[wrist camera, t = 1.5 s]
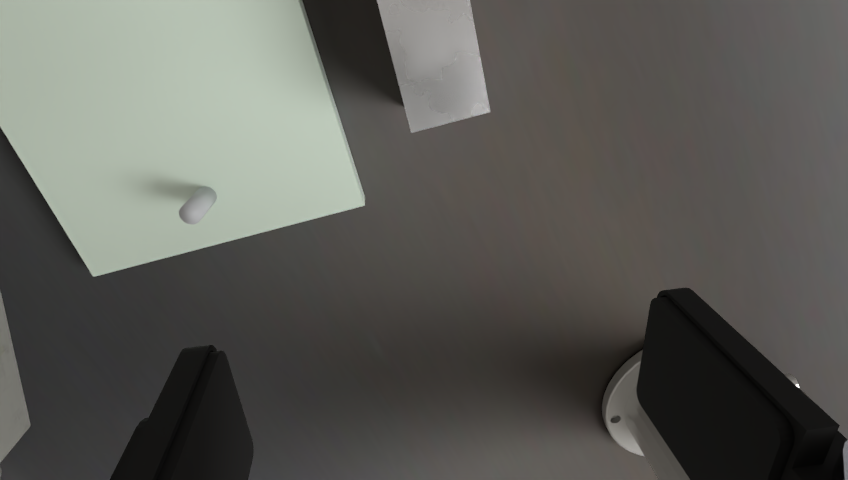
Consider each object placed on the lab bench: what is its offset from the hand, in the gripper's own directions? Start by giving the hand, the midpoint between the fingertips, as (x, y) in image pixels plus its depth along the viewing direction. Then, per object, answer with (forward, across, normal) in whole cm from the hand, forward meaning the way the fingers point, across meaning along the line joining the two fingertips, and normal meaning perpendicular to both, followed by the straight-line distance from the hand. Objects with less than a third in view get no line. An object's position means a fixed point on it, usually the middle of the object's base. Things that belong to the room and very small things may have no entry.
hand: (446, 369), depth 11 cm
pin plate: (+23, +13, -4) cm, 27 cm away
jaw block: (+23, -2, -6) cm, 24 cm away
